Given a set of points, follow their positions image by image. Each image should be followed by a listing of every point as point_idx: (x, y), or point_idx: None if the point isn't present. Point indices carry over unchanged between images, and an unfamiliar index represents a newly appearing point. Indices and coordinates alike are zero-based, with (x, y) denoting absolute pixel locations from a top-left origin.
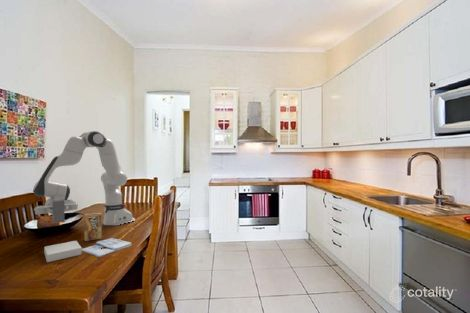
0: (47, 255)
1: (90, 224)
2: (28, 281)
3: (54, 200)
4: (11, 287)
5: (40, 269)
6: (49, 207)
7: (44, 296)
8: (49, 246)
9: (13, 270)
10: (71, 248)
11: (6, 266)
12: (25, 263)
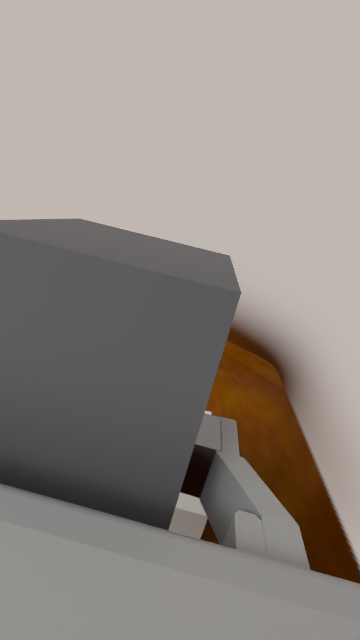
0: (209, 413)
1: None
2: (247, 381)
3: (194, 272)
4: (273, 384)
5: (225, 408)
6: (250, 557)
7: None
8: (186, 495)
9: (293, 456)
10: None
11: (331, 512)
12: (268, 483)
